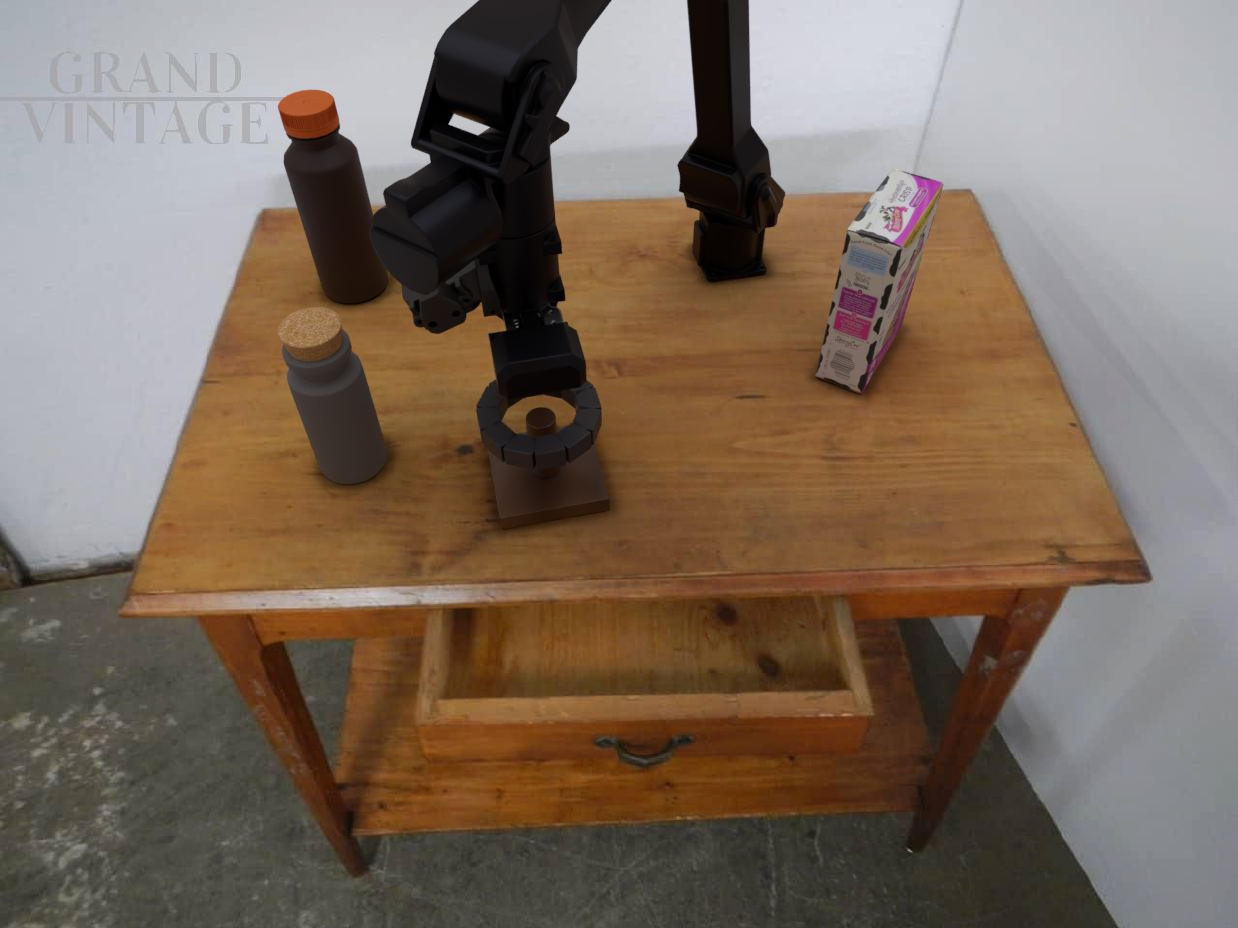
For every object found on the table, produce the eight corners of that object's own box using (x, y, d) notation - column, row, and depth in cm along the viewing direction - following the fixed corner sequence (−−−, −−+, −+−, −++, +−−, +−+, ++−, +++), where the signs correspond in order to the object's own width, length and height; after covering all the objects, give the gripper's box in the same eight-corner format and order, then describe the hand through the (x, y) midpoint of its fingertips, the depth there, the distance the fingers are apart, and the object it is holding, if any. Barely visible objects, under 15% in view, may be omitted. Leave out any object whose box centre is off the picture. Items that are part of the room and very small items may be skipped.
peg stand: (588, 433, 83) (585, 370, 78) (609, 510, 77) (608, 448, 72) (487, 450, 82) (477, 388, 76) (501, 529, 76) (491, 468, 70)
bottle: (373, 490, 79) (330, 356, 68) (308, 480, 80) (255, 346, 69) (397, 440, 83) (361, 306, 72) (335, 431, 84) (289, 297, 72)
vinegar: (392, 263, 100) (349, 82, 85) (385, 303, 96) (339, 119, 81) (328, 266, 100) (274, 85, 85) (318, 307, 95) (259, 123, 80)
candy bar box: (864, 397, 86) (903, 247, 73) (813, 378, 87) (843, 229, 75) (905, 328, 92) (947, 179, 80) (856, 312, 94) (890, 164, 82)
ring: (585, 371, 78) (585, 356, 77) (613, 456, 72) (612, 440, 71) (471, 391, 77) (469, 376, 75) (489, 479, 71) (486, 464, 69)
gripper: (388, 160, 70) (423, 323, 81) (405, 317, 57) (443, 482, 69) (536, 141, 71) (550, 304, 83) (583, 290, 59) (591, 457, 71)
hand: (532, 380), depth 76 cm, fingers closed on ring, 2 cm apart
